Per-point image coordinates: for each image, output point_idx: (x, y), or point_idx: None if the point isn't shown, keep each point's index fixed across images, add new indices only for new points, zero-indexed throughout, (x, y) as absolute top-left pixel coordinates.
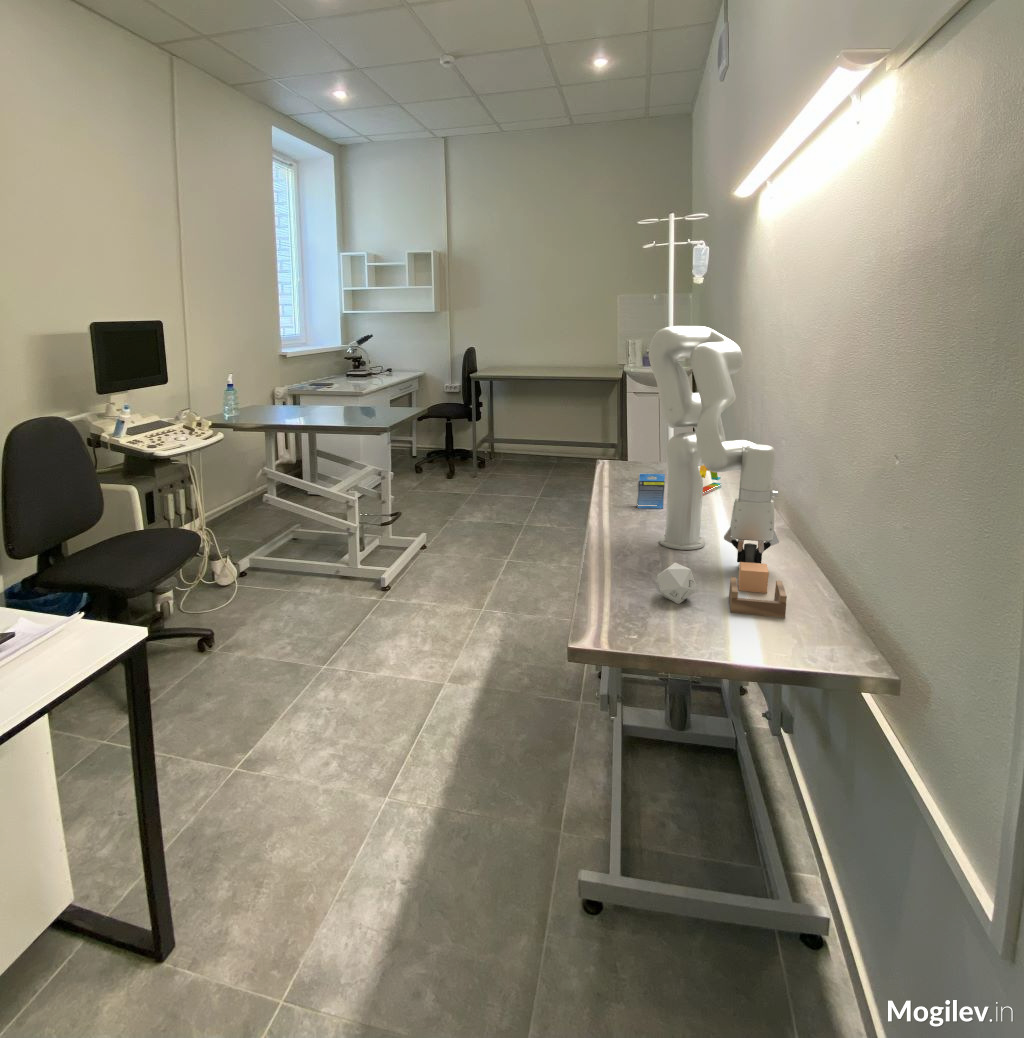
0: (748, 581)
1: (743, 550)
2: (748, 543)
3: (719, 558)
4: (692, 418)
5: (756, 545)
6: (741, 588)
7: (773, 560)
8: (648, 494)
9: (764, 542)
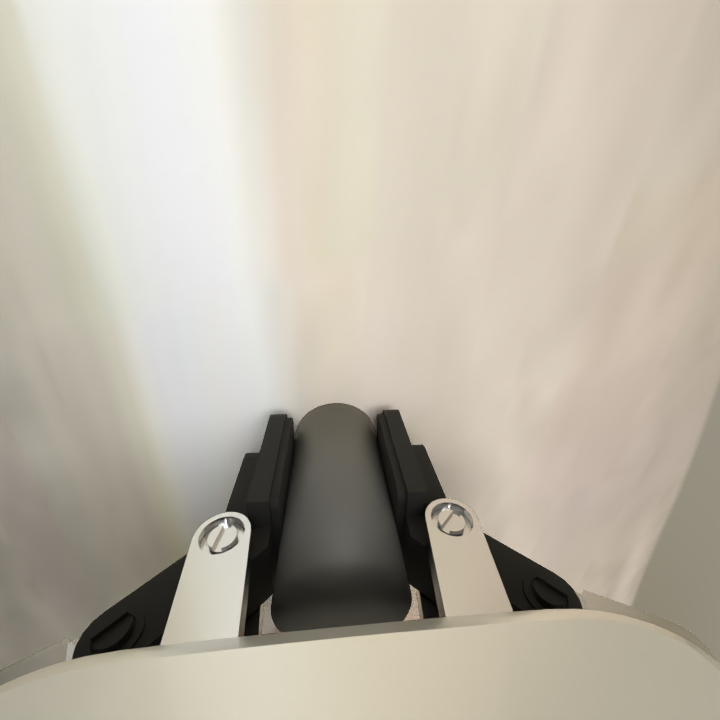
0: None
1: (278, 539)
2: (320, 566)
3: (92, 283)
4: None
5: (407, 600)
6: None
7: (545, 223)
8: None
9: (514, 605)
